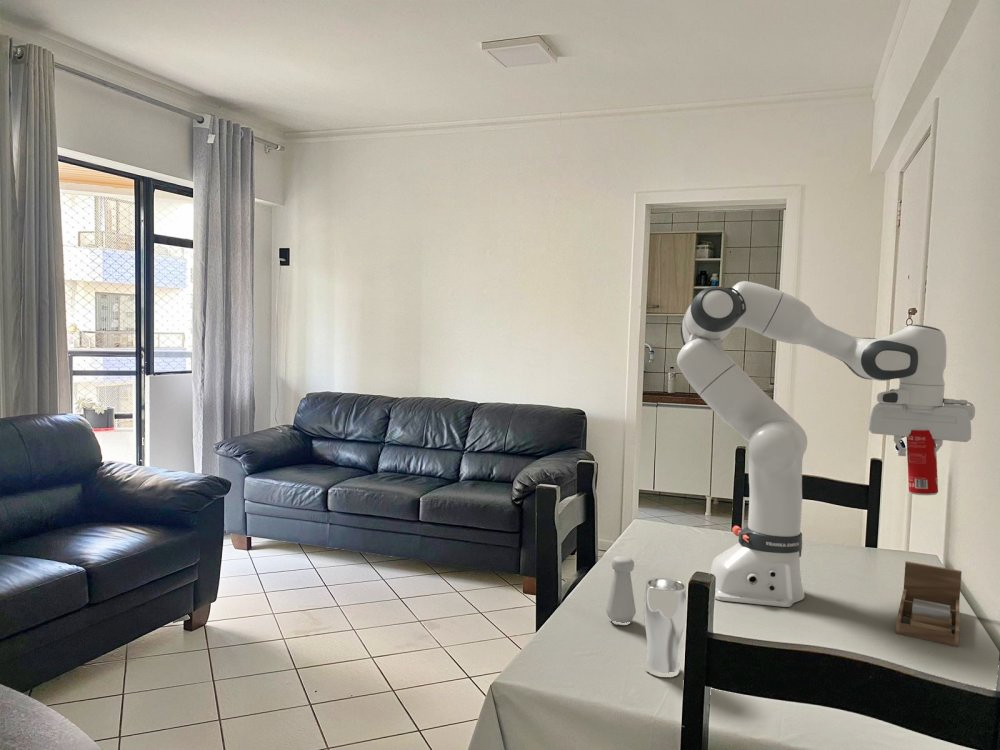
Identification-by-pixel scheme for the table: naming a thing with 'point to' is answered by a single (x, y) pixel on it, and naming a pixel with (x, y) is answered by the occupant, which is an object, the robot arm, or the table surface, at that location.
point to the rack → (930, 599)
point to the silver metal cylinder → (931, 615)
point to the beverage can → (922, 463)
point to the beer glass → (664, 622)
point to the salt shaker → (621, 591)
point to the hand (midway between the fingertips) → (916, 457)
